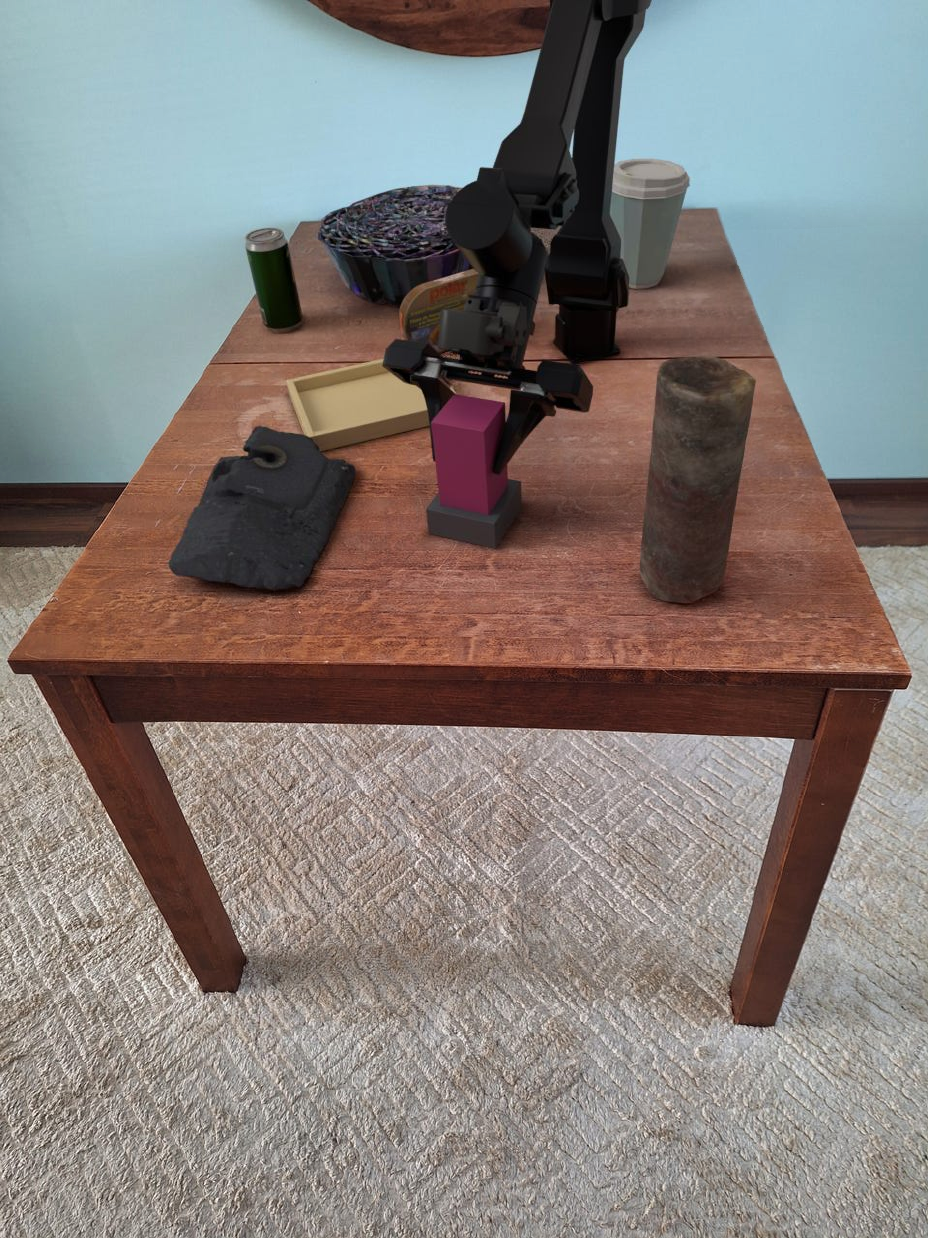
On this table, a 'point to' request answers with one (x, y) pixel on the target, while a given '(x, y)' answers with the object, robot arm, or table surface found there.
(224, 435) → the table surface
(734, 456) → the stone cylinder vase
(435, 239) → the decorative bowl
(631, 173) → the disposable coffee cup
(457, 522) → the base block
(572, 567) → the table surface
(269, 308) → the beer can
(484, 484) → the mulberry block
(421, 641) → the table surface
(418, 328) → the tin
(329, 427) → the tray
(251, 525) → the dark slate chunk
